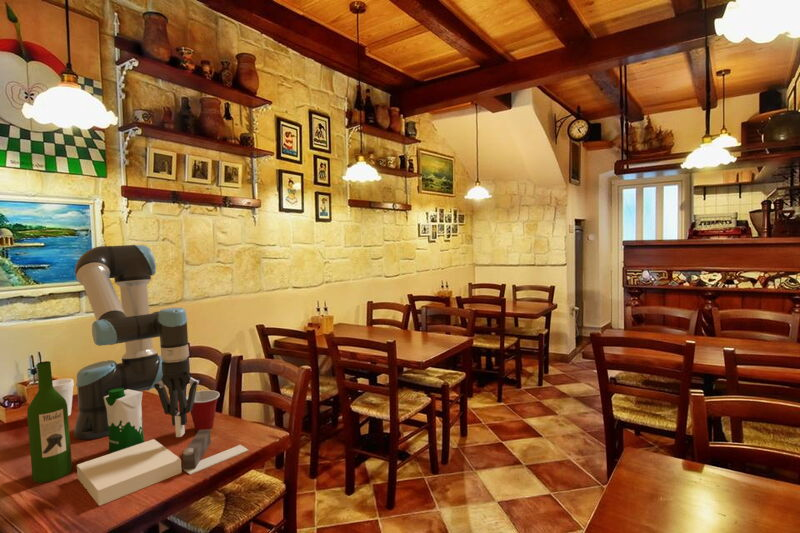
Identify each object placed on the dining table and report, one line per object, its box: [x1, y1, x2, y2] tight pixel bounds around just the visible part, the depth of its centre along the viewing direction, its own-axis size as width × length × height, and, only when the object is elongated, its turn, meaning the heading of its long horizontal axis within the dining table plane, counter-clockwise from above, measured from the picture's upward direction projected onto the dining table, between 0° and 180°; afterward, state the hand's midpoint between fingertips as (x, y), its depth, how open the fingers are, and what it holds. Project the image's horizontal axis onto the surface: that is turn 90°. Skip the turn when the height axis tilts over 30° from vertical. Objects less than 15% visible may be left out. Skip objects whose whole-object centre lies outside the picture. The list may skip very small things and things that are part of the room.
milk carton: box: [104, 388, 145, 454], centre depth 140 cm, size 9×9×20 cm
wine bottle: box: [26, 360, 73, 484], centre depth 125 cm, size 9×9×32 cm
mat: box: [181, 444, 250, 476], centre depth 133 cm, size 5×18×1 cm, turn 139°
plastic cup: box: [186, 389, 220, 432], centre depth 155 cm, size 11×11×12 cm
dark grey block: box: [182, 429, 211, 469], centre depth 134 cm, size 17×3×6 cm, turn 9°
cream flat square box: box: [76, 438, 183, 507], centre depth 125 cm, size 20×20×4 cm
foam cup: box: [52, 378, 75, 417], centre depth 169 cm, size 10×9×13 cm
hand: (180, 435), depth 136 cm, fingers closed
